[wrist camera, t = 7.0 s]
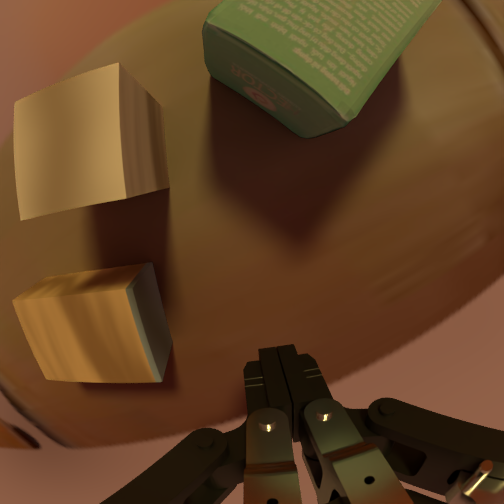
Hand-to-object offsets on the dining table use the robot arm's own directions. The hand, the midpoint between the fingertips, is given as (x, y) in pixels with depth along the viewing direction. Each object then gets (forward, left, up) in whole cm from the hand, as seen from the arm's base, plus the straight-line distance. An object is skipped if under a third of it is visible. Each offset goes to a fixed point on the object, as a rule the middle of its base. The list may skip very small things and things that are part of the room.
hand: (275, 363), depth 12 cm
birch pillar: (+7, -10, -7) cm, 14 cm away
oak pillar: (+6, 0, -5) cm, 8 cm away
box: (-5, -17, -8) cm, 19 cm away
